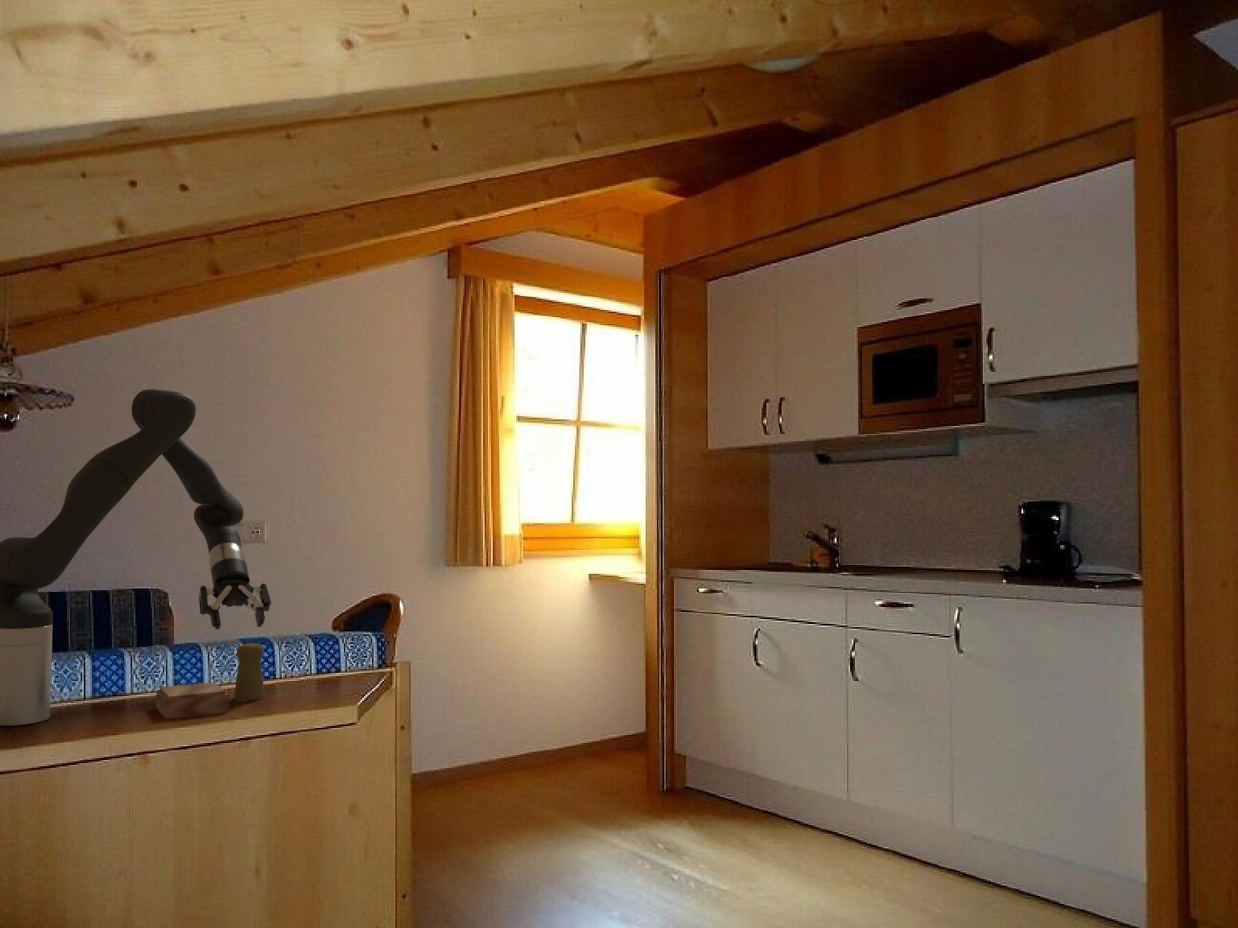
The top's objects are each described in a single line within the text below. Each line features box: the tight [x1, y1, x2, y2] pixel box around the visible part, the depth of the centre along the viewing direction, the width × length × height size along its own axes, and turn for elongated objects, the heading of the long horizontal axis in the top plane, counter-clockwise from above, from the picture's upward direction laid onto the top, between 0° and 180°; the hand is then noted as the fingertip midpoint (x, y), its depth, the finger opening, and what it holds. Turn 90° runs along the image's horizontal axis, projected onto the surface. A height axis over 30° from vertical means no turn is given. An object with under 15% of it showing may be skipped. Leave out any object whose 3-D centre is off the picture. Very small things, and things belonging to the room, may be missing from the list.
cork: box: [232, 642, 266, 702], centre depth 203 cm, size 6×6×11 cm
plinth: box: [155, 681, 230, 720], centre depth 191 cm, size 11×11×4 cm
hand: (239, 625), depth 211 cm, fingers open, 8 cm apart
